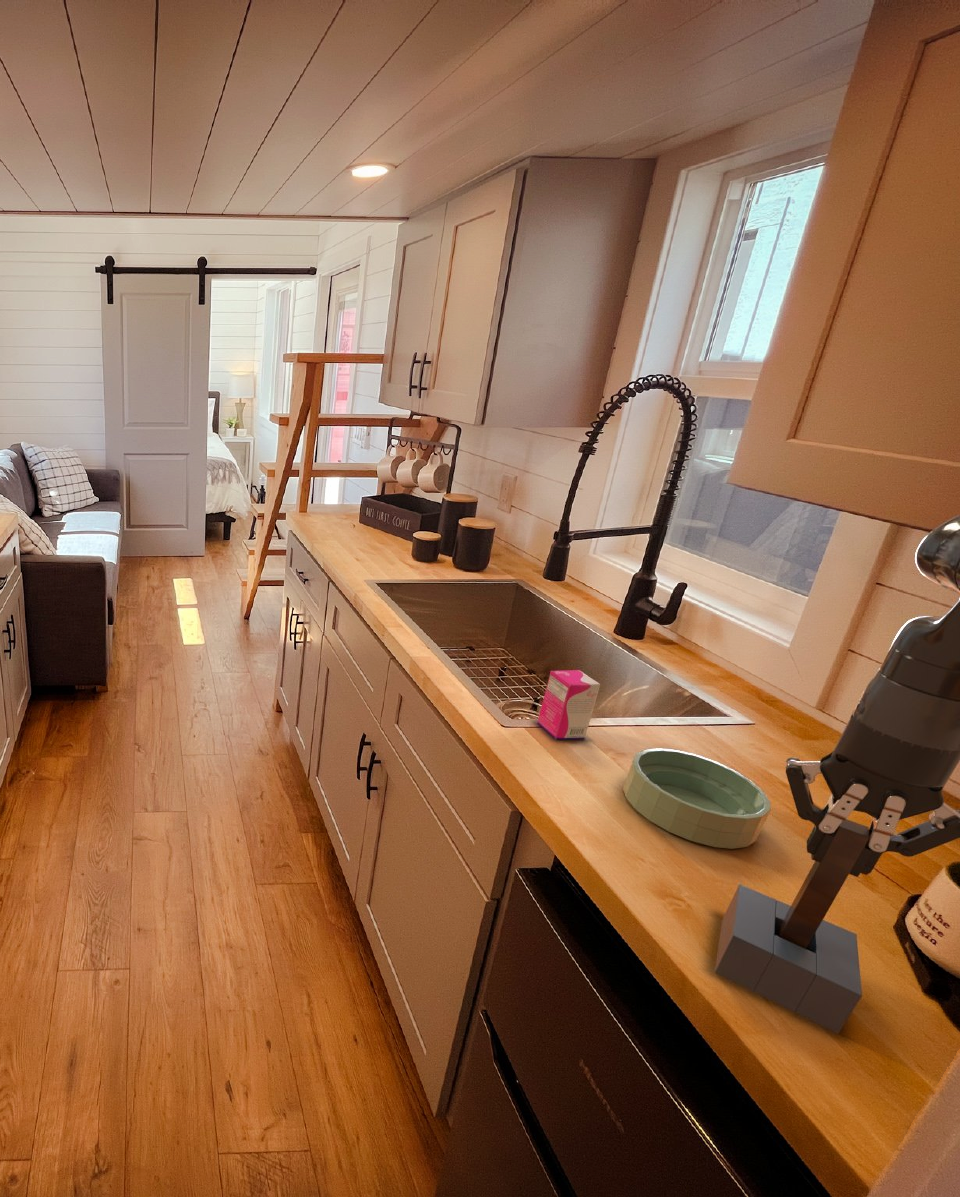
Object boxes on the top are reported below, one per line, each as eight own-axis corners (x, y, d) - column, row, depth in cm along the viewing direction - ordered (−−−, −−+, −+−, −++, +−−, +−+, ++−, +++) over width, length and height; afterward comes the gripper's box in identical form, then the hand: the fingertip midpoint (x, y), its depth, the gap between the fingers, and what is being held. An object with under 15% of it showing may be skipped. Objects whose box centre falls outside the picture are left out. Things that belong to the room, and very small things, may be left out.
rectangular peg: (805, 939, 72) (868, 826, 66) (804, 951, 71) (870, 837, 65) (779, 927, 74) (839, 816, 68) (778, 939, 72) (839, 826, 66)
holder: (834, 971, 74) (856, 933, 72) (837, 1035, 67) (862, 995, 65) (721, 919, 81) (739, 883, 78) (714, 973, 74) (733, 935, 72)
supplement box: (564, 722, 122) (580, 669, 118) (585, 740, 117) (603, 685, 113) (535, 722, 122) (550, 669, 118) (554, 741, 116) (571, 685, 112)
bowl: (757, 812, 100) (772, 780, 98) (751, 870, 89) (768, 835, 86) (632, 765, 110) (643, 736, 108) (612, 812, 99) (624, 780, 97)
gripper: (1014, 739, 60) (925, 880, 66) (811, 684, 68) (750, 814, 75) (1033, 775, 55) (934, 924, 61) (811, 711, 63) (746, 848, 70)
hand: (833, 863), depth 68 cm, fingers closed on rectangular peg, 2 cm apart
